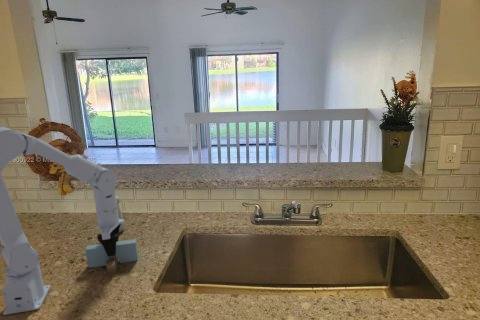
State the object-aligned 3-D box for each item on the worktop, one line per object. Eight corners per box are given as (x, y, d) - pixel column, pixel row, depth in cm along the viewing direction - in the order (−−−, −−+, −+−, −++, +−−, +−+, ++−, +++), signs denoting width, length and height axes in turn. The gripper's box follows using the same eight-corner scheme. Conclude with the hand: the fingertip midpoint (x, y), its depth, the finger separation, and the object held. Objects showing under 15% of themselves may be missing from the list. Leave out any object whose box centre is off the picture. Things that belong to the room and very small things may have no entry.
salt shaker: (105, 232, 122) (100, 198, 118) (117, 226, 126) (113, 193, 123) (117, 235, 119) (112, 201, 115) (129, 228, 124) (124, 195, 120)
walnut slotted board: (115, 274, 96) (114, 265, 95) (108, 275, 95) (106, 266, 95) (120, 250, 109) (119, 241, 108) (113, 250, 109) (112, 242, 108)
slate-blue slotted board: (137, 260, 103) (135, 242, 101) (88, 267, 100) (85, 249, 98) (138, 256, 105) (135, 239, 103) (90, 263, 102) (87, 245, 100)
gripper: (118, 216, 92) (124, 260, 95) (123, 197, 105) (128, 237, 109) (90, 219, 90) (98, 264, 94) (99, 200, 104) (105, 240, 107)
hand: (112, 250), depth 101 cm, fingers open, 6 cm apart
